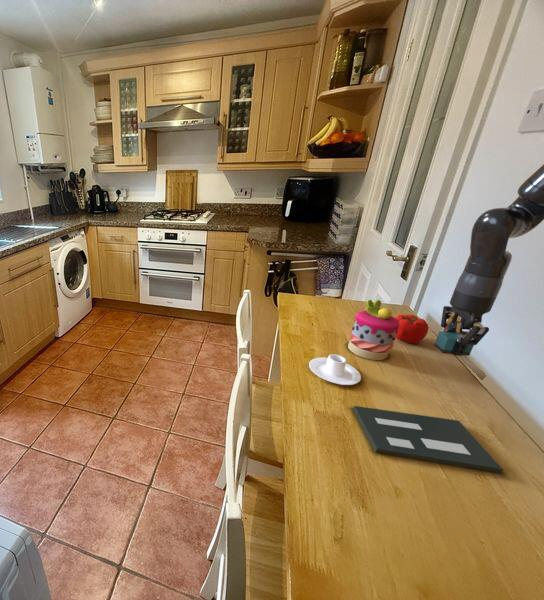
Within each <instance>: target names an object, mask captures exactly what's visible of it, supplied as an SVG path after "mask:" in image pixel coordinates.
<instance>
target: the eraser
mask: <svg viewBox="0 0 544 600" xmlns="http://www.w3.org/2000/svg"><path fill="white" fill-rule="evenodd" d="M457 335H458V333H452V332H444V331H440V330H439V331H438V333H437V336H436V338H435V341H434V344H433V347H434V348H436V349H437V350H438V351H439V352H440V353H441V354H447V355H453V354H452V353H451V352H452V349H453V347H454V345H455V342H456V341H457ZM465 336H466V334H464V335H463V338H465ZM472 340H473V339H472ZM474 346H475V345H469V344H468V345H467V347H466V350H465V351H464V354H463V355H462V356H467V357H469V356H470V355H471V353H472V350H473V348H474Z"/></svg>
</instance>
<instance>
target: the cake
mask: <svg viewBox="0 0 544 600" xmlns="http://www.w3.org/2000/svg"><path fill="white" fill-rule="evenodd" d="M365 305H366V307H365V310H361V311H358V312H357V313H356V314H355V318H354V325H353V326H352V328H351V333H349V334H348V335H349V336H350V338H349V342H348V344H347V347H348V350H349V351H350V352H352V353H353V354H355V355H357V356H359V357H362V358H365V359H368V360H372V361H373V360H374V361H383V360H385V359H387V358H388V355H389V353H390V352H391V350H392V349H393V348H394V347H395V343H394V341H396V337H394V336H395V333H396V334H397V331H398V328H399V325H400V323H399V321H398V320H397V319H396V317H394V316H393V314H392V310H391V309H389V308H386V307H383V308H381V305H382V302H381V300H380V299H376V300H374V302H373V300H371V299H367V300H366V301H365Z"/></svg>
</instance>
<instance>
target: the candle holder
mask: <svg viewBox="0 0 544 600" xmlns="http://www.w3.org/2000/svg"><path fill="white" fill-rule="evenodd" d="M347 361H348V360H347V359H346V358H345V357H344V356H342V355H340V354H336V353H335V354H329V355H328V356H327V357H315V358H313V359H311V360H310V361H309V363H308V366H309V369H310V370H311V372H312V373H313V374H315V376H318V377H319V378H320V379H322V380H325V381H327V382H330V383H333V384H337V385H341V386H353V385H356V384H359V383H360V382H361V380H362V376H361V373H360V372H359V370H357V369H356V368H355V367H354V366H352V365H351V364H349V363H347Z"/></svg>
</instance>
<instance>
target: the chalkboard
mask: <svg viewBox="0 0 544 600" xmlns="http://www.w3.org/2000/svg"><path fill="white" fill-rule="evenodd" d="M352 410H353V412H354V415H355V416H356V418H357V420H358V422H359V424H360V426H361V428H362V429H363V432H364V433H365V435H366V437H367V439H368V441H369V443H370V445H371V448H373V450H374V453H377V454H384V455H390V456H395V457H396V456H397V457H402V458H409V459H414V460H420V461H426V462H431V463H437V464H443V465H449V466H456V467H462V468H467V469H473V470H480V471H487V472H492V473H498V474H501V473H502V472H503V470H504V469H503V468H502V467H501V465H500V464H499V463H498V462H497V461H496V460H495V459H494V458H493V457H492V455H491V454H490V453H489V452H488V451H487V449H485V447H484V446H483V445H482V444H481V443H480V442H479V441H478V440H477V439H476V438H475V436H473V434H472V433H470V431H469V430H468V429H467V428H466V426H464V424H462V423H461V421H460V420H457V419H452V418H451V419H450V418H443V417H436V416H428V415H421V414H415V413H407V412H400V411H394V410H393V411H392V410H386V409H380V408H374V407H373V408H372V407H365V406H357V405H353V407H352Z"/></svg>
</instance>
